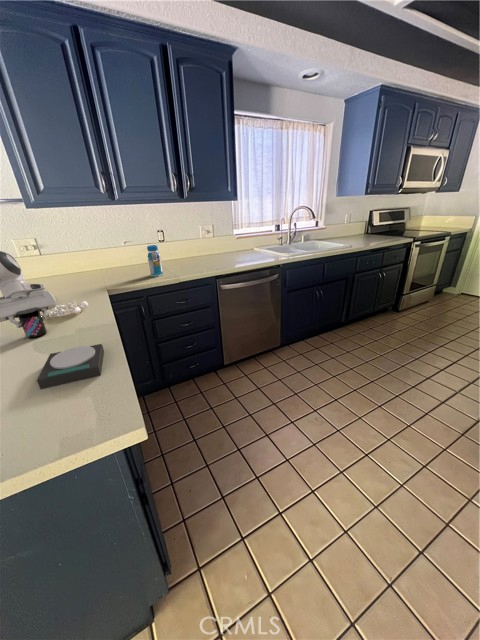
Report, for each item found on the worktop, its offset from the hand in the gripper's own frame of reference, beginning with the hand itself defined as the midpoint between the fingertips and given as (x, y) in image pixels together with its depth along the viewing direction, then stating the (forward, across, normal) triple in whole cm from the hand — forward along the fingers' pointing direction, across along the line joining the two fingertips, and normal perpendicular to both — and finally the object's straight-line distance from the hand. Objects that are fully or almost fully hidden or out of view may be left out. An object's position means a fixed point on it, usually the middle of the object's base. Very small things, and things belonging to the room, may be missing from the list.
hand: (32, 323), depth 100 cm
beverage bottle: (-29, +80, +37) cm, 92 cm away
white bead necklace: (-8, +14, +16) cm, 23 cm away
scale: (+30, +2, -22) cm, 37 cm away
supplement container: (+4, 0, +4) cm, 6 cm away
